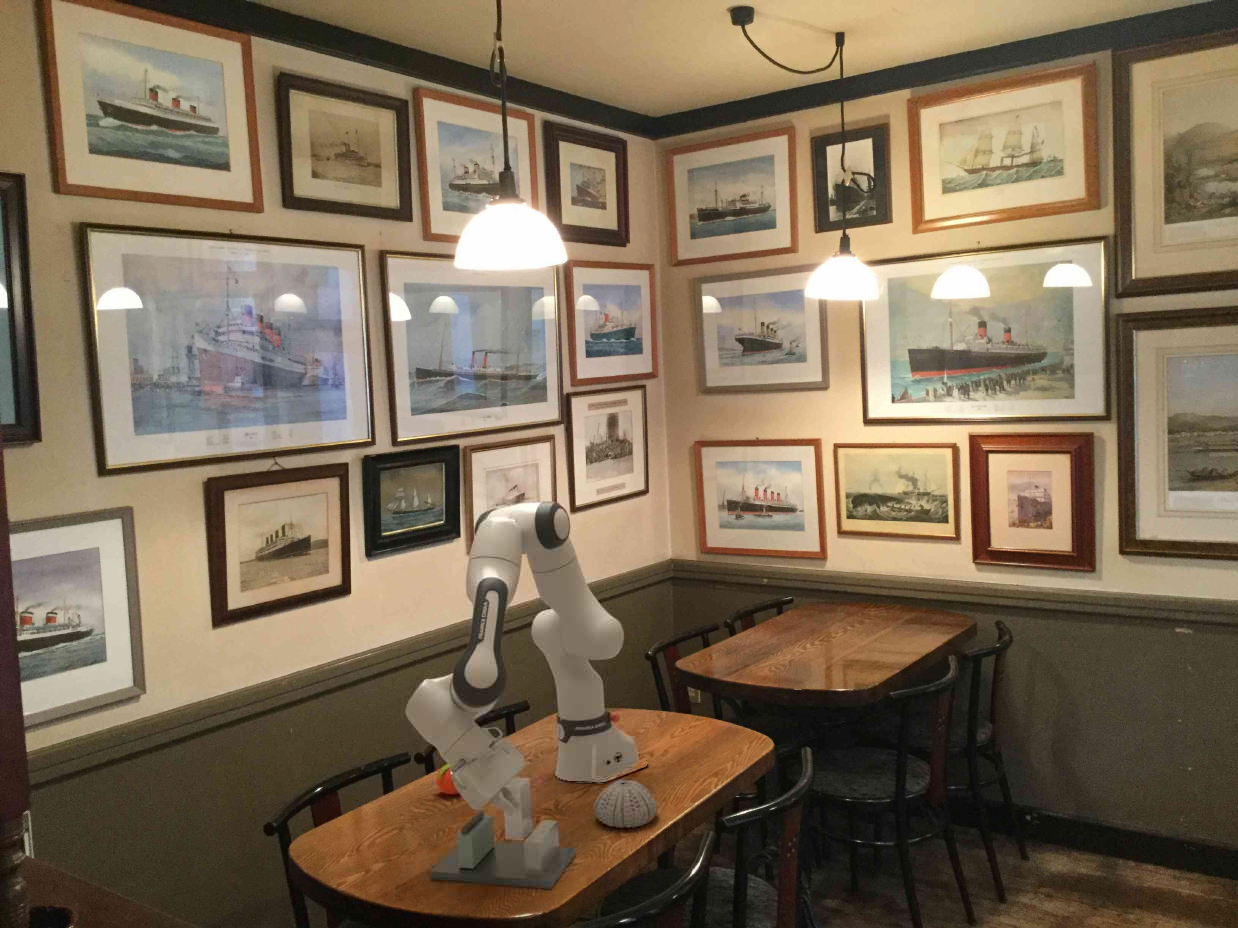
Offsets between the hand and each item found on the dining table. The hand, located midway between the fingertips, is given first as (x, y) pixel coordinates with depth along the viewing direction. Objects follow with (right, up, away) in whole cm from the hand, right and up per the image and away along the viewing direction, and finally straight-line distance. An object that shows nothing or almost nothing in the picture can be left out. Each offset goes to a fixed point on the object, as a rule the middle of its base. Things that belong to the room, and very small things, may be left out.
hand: (520, 805), depth 189 cm
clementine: (-20, -12, +41) cm, 47 cm away
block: (0, -6, 0) cm, 6 cm away
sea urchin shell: (+20, -10, +21) cm, 31 cm away
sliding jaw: (-9, -11, +3) cm, 14 cm away
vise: (-3, -12, +2) cm, 13 cm away
